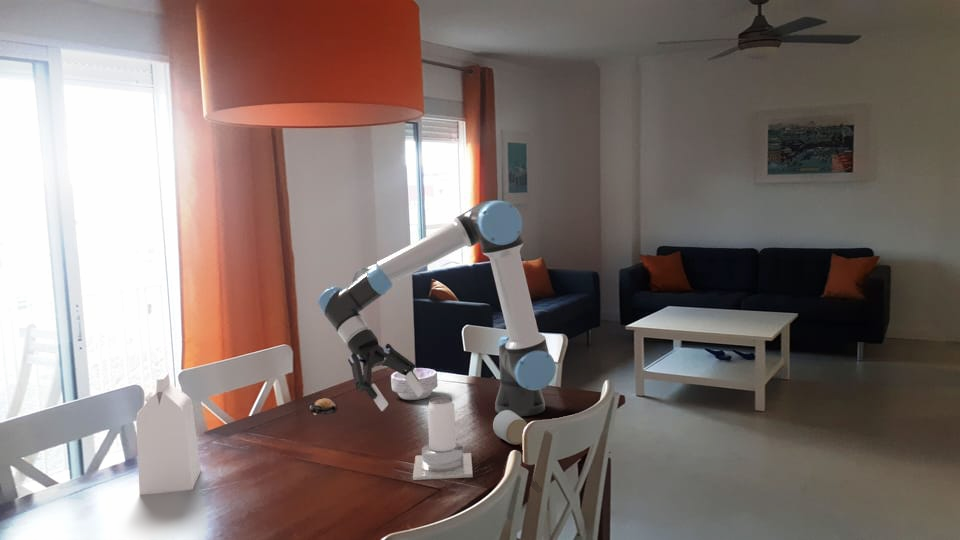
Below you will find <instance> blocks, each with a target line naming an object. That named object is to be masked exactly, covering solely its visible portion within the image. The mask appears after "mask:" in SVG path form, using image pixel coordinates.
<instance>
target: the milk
mask: <svg viewBox="0 0 960 540" xmlns="http://www.w3.org/2000/svg"><path fill="white" fill-rule="evenodd" d="M143 400H144V401H145V404H144V405H142V407H141V408H140V409H139V411H137V414H136V418H135V421H136V425H135V426H136V444H137V446H136V447H137V465H138V486H139V489H138V490H139V496H143V495H151V494H152V495H153V494H161V493H162V494H163V493H170V492H171V493H173V492H179V491H180V492H181V491H190V490H194V489H193V488H194V487H195V485H196V482H197V480H198V479H199V475H200V473H201V470H202V468H201V462H200V461H201V460H200V453H199V447H198V437H197V430H196V423H195V422H196V421H195V415H194V409H193V408H194V407H193V402H192V399H191V398H190V397H189V396H188V394H186V393H185V392H183V391H182V390H180V389H179V388H177V387H176V386H175V385H173V384H172V383H170V376H169V373H168V372H165V373H161V374H160V375H159V376H158V378H157V379H156V390H155V391H154V389H152V390H150V391H149V393H148V394H147V395H146V396H145V398H144V399H143Z"/></svg>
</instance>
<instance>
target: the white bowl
mask: <svg viewBox="0 0 960 540" xmlns="http://www.w3.org/2000/svg"><path fill="white" fill-rule="evenodd" d="M405 371H406V370H405ZM413 373H414V374H415V375H416V377H417V378H418V380H419V383H420V384H421V385H422V387H423V388H424V390H425V391H424V392H423V394H422V395H421V396H420V397H418V396H417V395H416V394H415V392H414V391H413V390H412V388H411V387H410V385H409V384H408V383H407V381H406V380H405V375H403V374H401V373H399V372H397V371H395V372H393V373H392V374H391V375H390V382H391V384H390V385H391V390H392V392H395V393H397V395H398V396H399V398H401V399H402V400H405V401H406V400H407V401H416V400H417V401H418V400H424V399H426V398H428V397H430V396H431V394H432V392H433V390H435V389H436V388H437V387H438V373H437V371H436V370H435V369H431V368H426V367H425V368H424V367H415V368H414V370H413Z"/></svg>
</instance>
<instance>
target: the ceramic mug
mask: <svg viewBox="0 0 960 540" xmlns="http://www.w3.org/2000/svg"><path fill="white" fill-rule="evenodd" d="M497 413H498V412H497ZM527 424H528V422H526V420H525V419H524V418H522V416H518V415H517V414H515V413H514V412H512V411H510V410H504V411H501V412H500V413H498V414H497V415H496V416H495V417H494V419H493V422H492V428H493V432H494V433H495V435H496V436H497V437H499V438H500V439H502V440H504V441H505V442H507V443H508V444H511V445H514V446H518V445H521V444H523V443H522V433H523V429H524V427H525V426H526V425H527Z"/></svg>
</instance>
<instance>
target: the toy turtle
mask: <svg viewBox="0 0 960 540" xmlns="http://www.w3.org/2000/svg"><path fill="white" fill-rule="evenodd" d="M309 409H310V411H311V413H312V414H313V415H314V416H316V415H317V416H318V415H326V414H333V413H338V408H337V403H336V402H334V401H333V400H331V399H330V398H327V397H326V398H321V399H320V398H319V399H318V400H316V401H314V402H312V403H311V404H310V406H309Z"/></svg>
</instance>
